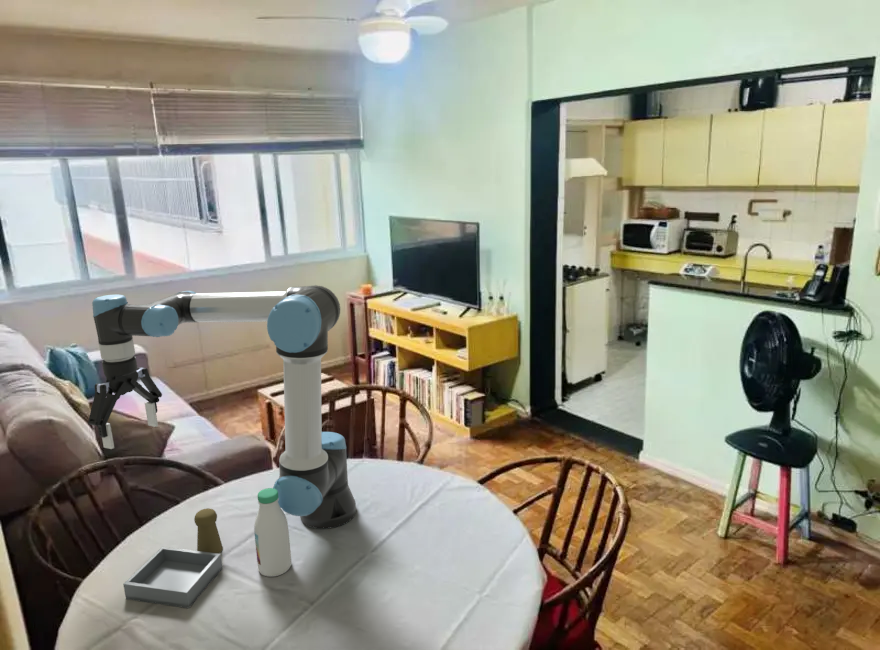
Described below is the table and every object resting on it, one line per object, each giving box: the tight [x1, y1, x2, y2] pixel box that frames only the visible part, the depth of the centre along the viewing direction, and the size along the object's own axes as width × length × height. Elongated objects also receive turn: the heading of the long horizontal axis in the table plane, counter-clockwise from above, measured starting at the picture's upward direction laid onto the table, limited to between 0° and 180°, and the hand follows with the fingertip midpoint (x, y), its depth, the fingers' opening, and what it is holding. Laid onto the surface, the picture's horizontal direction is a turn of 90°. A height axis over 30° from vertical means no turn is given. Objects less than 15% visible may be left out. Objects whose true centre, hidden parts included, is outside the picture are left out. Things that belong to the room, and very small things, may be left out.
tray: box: [123, 546, 223, 609], centre depth 140 cm, size 16×14×4 cm
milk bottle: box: [253, 487, 292, 578], centre depth 143 cm, size 8×8×20 cm
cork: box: [193, 508, 224, 554], centre depth 150 cm, size 6×6×11 cm
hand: (131, 436), depth 156 cm, fingers open, 13 cm apart
